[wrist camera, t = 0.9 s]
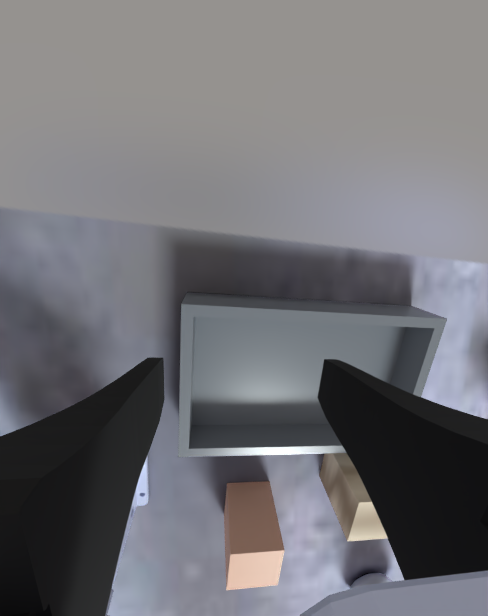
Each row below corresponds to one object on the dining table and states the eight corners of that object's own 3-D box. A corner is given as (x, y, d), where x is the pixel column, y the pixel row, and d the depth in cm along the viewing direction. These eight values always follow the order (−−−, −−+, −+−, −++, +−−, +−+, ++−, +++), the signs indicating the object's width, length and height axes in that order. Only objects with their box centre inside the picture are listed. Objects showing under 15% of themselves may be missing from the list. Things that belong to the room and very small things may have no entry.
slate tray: (377, 422, 25) (402, 451, 22) (183, 424, 23) (178, 457, 19) (411, 305, 22) (447, 318, 18) (187, 292, 19) (181, 304, 16)
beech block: (357, 474, 27) (395, 537, 22) (319, 475, 27) (347, 541, 21) (366, 441, 26) (409, 499, 20) (326, 442, 25) (359, 502, 20)
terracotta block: (264, 511, 27) (277, 585, 22) (224, 514, 27) (226, 590, 21) (269, 481, 26) (284, 550, 20) (227, 482, 25) (230, 554, 20)
